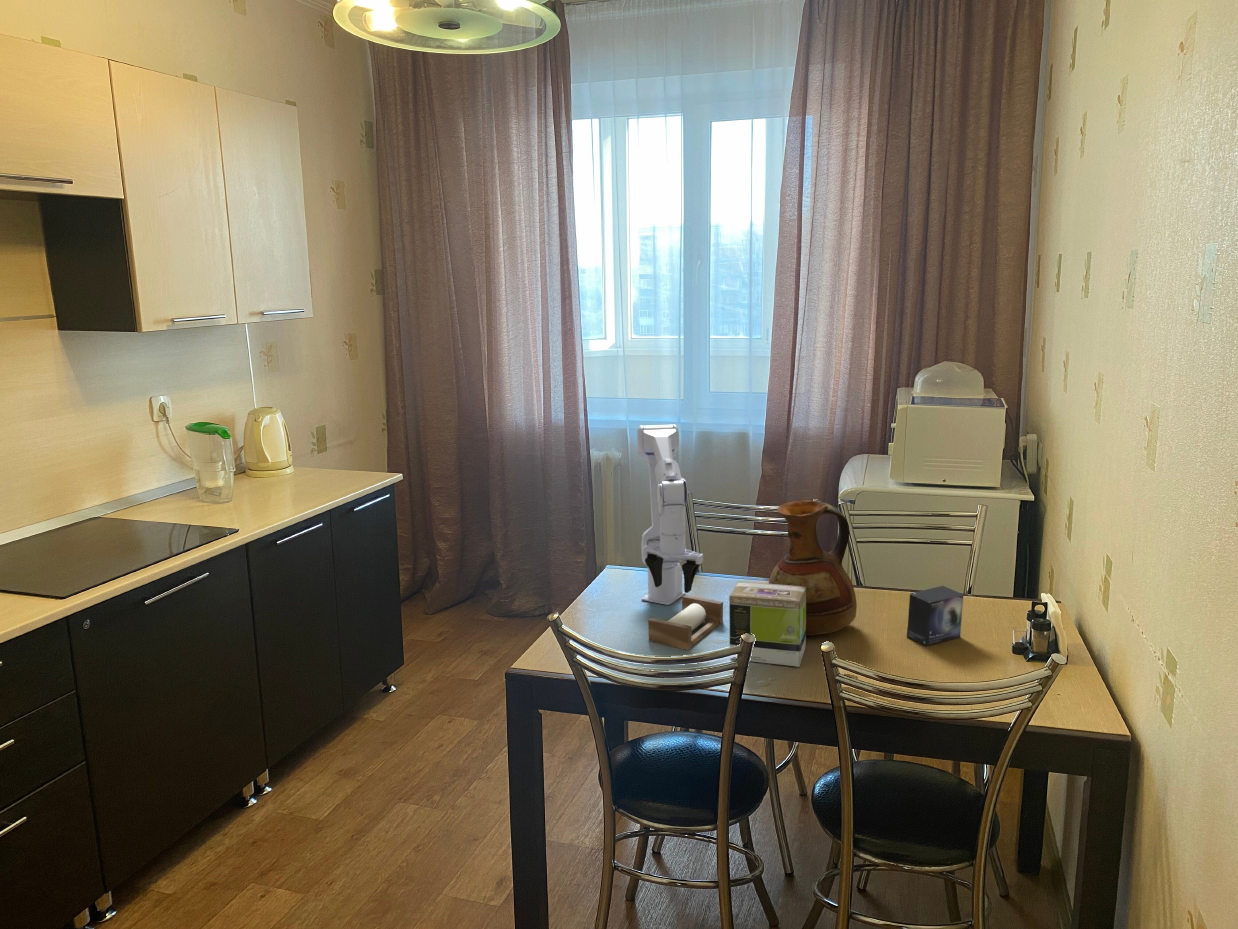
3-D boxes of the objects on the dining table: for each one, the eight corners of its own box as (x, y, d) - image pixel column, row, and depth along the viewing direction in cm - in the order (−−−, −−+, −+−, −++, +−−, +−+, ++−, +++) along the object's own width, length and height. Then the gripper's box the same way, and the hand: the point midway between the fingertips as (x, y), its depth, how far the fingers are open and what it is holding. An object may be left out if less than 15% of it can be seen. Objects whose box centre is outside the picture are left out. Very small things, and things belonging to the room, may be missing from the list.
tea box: (806, 649, 196) (807, 585, 193) (799, 669, 187) (801, 601, 184) (737, 641, 201) (738, 578, 198) (728, 660, 192) (728, 594, 189)
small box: (927, 647, 196) (930, 602, 193) (905, 637, 201) (907, 593, 199) (962, 638, 200) (965, 593, 198) (939, 628, 206) (942, 584, 204)
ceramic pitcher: (754, 615, 216) (756, 494, 209) (832, 607, 220) (836, 488, 213) (786, 648, 197) (788, 516, 190) (871, 638, 201) (876, 509, 194)
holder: (685, 614, 217) (684, 594, 216) (722, 622, 212) (723, 601, 211) (648, 641, 202) (648, 620, 201) (688, 650, 197) (688, 628, 196)
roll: (693, 626, 213) (683, 607, 213) (710, 619, 210) (700, 600, 210) (668, 645, 202) (658, 625, 203) (685, 638, 200) (675, 618, 200)
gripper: (636, 532, 205) (637, 588, 208) (693, 541, 198) (693, 599, 201) (650, 524, 211) (651, 579, 214) (707, 532, 204) (707, 589, 207)
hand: (673, 588), depth 208 cm, fingers open, 7 cm apart
